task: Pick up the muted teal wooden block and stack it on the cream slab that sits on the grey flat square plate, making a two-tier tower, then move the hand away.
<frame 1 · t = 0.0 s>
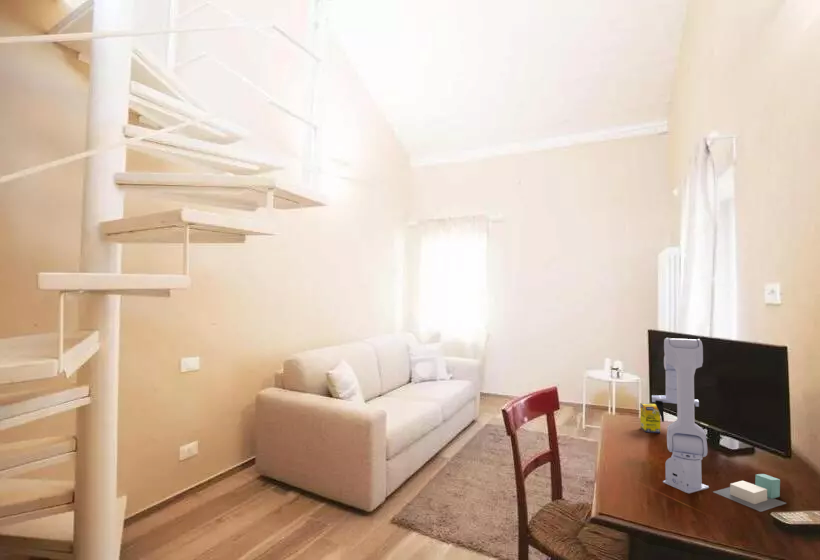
hand: (674, 422, 154), 11 cm above the table, tool pointing down, fingers open, 7 cm apart
supplement box: (650, 431, 176), on the table
teal block: (767, 494, 119), on the table, tilted 6°, touching grey flat square plate
cream slab: (748, 497, 117), resting on grey flat square plate
grey flat square plate: (748, 498, 117), on the table
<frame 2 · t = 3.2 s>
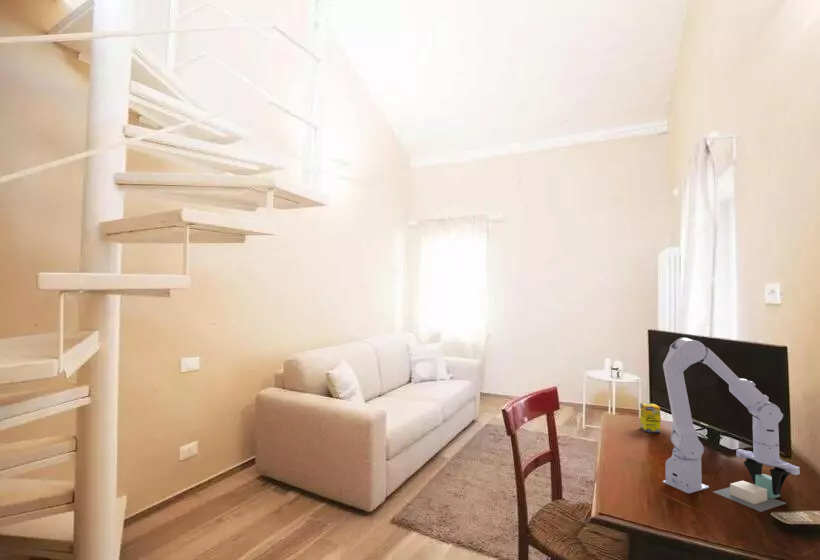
hand: (767, 490, 119), 1 cm above the table, tool pointing down, fingers closed on teal block, 4 cm apart
teal block: (767, 494, 119), on the table, tilted 6°, touching grey flat square plate, gripper
everything else where it was.
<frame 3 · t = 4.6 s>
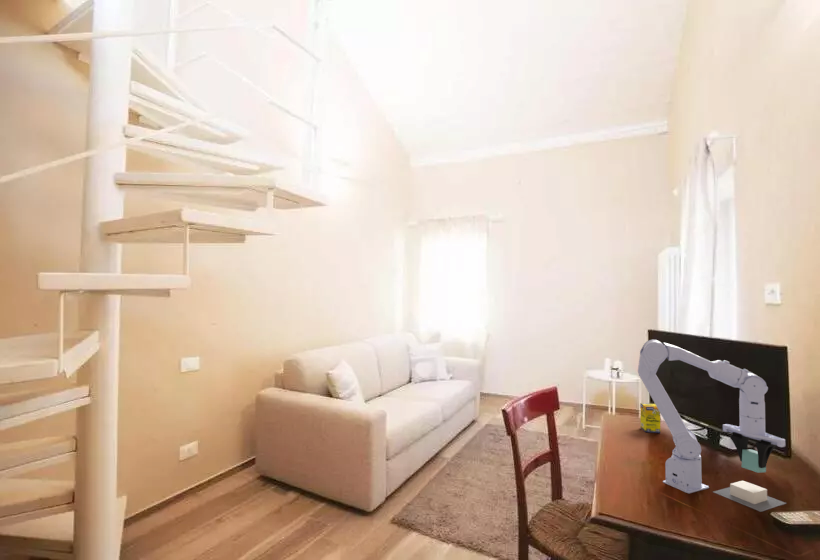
hand: (752, 464, 118), 9 cm above the table, tool pointing down, fingers closed on teal block, 4 cm apart
teal block: (753, 469, 118), point 8 cm above the table, tilted 7°, touching gripper
everything else where it was.
when the fingers open (6 cm above the table, at t = 5.8 s): teal block stays where it is, resting on cream slab.
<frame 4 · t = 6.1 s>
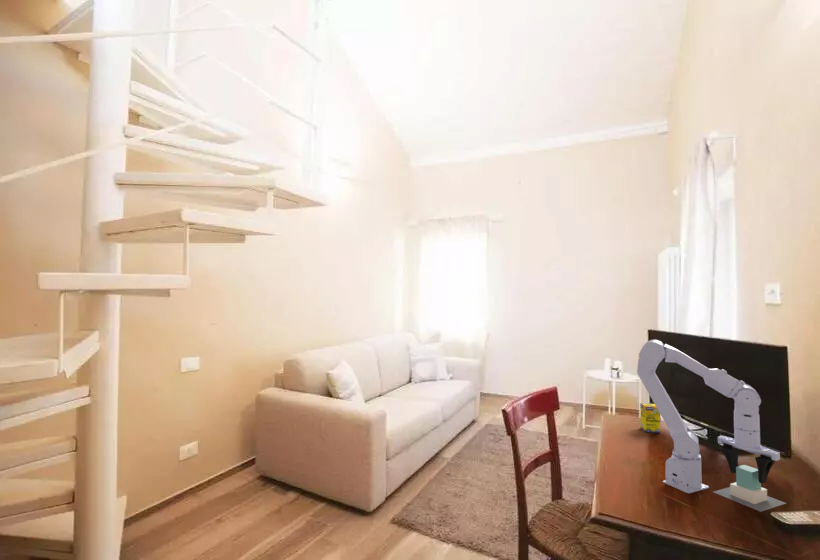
hand: (748, 477, 117), 6 cm above the table, tool pointing down, fingers open, 6 cm apart
teal block: (748, 486, 117), point 3 cm above the table, touching cream slab
cream slab: (748, 497, 117), resting on grey flat square plate, touching teal block
everything else where it was.
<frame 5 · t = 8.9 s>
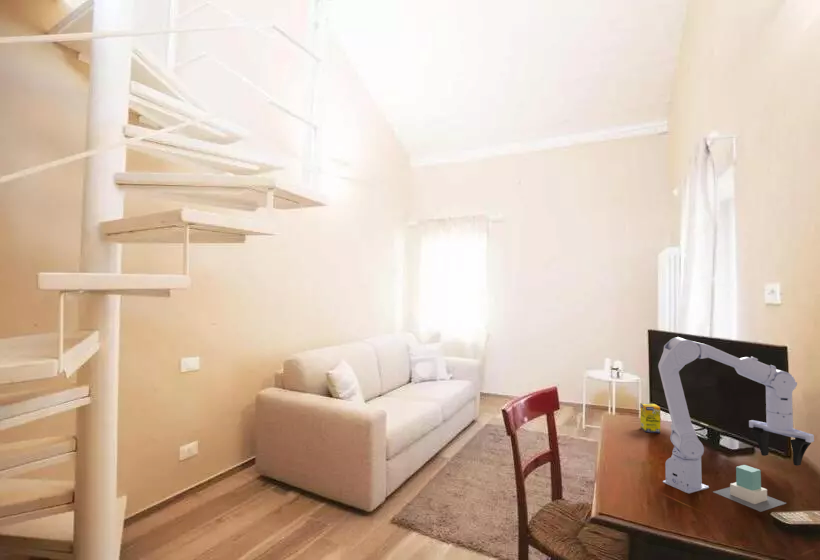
hand: (780, 459, 119), 10 cm above the table, tool pointing down, fingers open, 7 cm apart
nothing on the table moved.
at the end: teal block 0.2 cm off-centre on the cream slab, point 3.0 cm above the cream slab's base; teal block tilted 0°; cream slab moved 0.0 cm from its start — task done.
